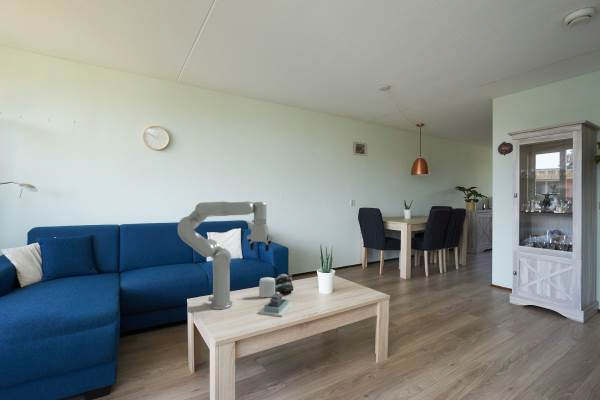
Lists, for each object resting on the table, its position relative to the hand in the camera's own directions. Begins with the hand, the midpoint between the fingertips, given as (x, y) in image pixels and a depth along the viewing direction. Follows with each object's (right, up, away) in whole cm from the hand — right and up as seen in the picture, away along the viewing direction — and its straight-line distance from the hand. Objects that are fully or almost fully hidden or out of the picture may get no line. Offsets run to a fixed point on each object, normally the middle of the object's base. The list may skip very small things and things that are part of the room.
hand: (259, 250), depth 173 cm
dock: (+11, -32, -7) cm, 35 cm away
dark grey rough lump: (+12, -32, +22) cm, 41 cm away
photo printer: (+3, -32, +13) cm, 35 cm away
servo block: (+11, -31, -7) cm, 34 cm away
